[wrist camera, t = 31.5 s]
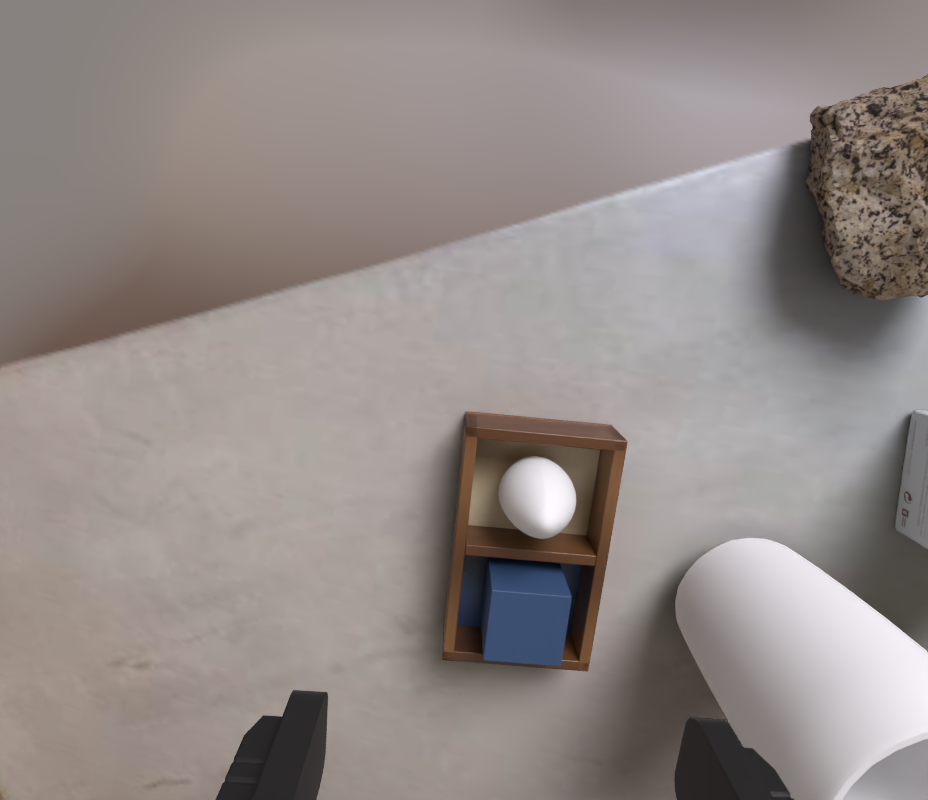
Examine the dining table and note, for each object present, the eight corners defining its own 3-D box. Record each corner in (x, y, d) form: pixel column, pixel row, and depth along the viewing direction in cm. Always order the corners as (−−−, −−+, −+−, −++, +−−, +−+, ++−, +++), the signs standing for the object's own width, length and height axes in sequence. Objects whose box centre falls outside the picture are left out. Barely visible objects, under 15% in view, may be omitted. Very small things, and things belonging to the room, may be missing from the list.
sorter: (465, 411, 30) (466, 426, 27) (611, 424, 31) (627, 440, 28) (443, 626, 33) (442, 660, 30) (577, 636, 33) (588, 672, 31)
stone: (1109, 38, 21) (1045, 306, 23) (1028, 87, 26) (980, 306, 28) (829, 58, 24) (792, 295, 26) (801, 98, 29) (772, 297, 31)
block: (487, 550, 31) (491, 590, 28) (558, 556, 32) (572, 596, 28) (479, 613, 32) (483, 660, 28) (548, 619, 32) (561, 667, 29)
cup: (647, 545, 32) (791, 753, 18) (793, 504, 32) (1056, 687, 18) (678, 668, 34) (830, 943, 20) (816, 632, 33) (1070, 887, 20)
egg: (531, 527, 31) (546, 580, 26) (483, 482, 30) (488, 527, 25) (581, 481, 31) (607, 526, 25) (532, 435, 30) (549, 470, 25)
